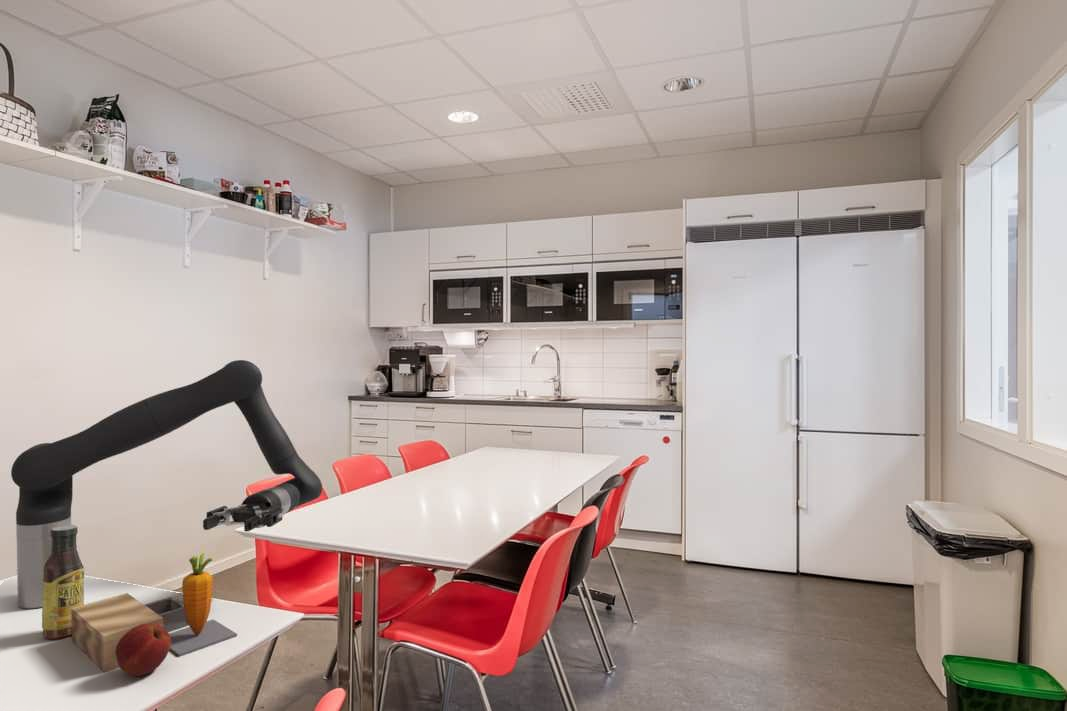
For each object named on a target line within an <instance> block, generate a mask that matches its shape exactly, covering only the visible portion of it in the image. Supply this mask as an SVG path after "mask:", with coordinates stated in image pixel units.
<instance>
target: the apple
mask: <svg viewBox="0 0 1067 711" xmlns="http://www.w3.org/2000/svg"><path fill="white" fill-rule="evenodd" d="M169 634H170V633H169V632H167V631H166V629H164V628H163V627H161V626H160V625H157V624H152V623H144V624H141V625H138V626H136V627H134V628H133V629H131V630H130V631H128V632H127V633H126V634H125V635H124V636H123V637H122V638H121V639H120V641H119V642H118V644H117V646H116V652H115V654H116V659H117V662H118V665H119V668H120V670H121V671H122V672H123V673H125V674H127V675H129V676H135V677H136V676H137V677H139V676H144V675H149V673H152V672H154V671H155V670H157V668H158V667H160V666H161V664H162V663H163V662H164V660H166V657H167V656H168V654H169V652H170V645H171V637H170V635H169Z"/></svg>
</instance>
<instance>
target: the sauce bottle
mask: <svg viewBox="0 0 1067 711" xmlns="http://www.w3.org/2000/svg"><path fill="white" fill-rule="evenodd" d="M78 532H79V531H78V526H77V525H75V524H71V525H67V526H60V527H55V528H52V529H51V537H52V549H51V552H52V554H51V556H50V557H49V559H48V560H47V561H46V563H45V566H44V579H43V602H42V607H41V608H42V610H41V611H42V613H41V628H42V636H43V638H44V639H48V640H56V639H62V638H66V637H71V636H72V621H71V608H73V607H77V606H81V605H85V604H84V602H85V601H84V600H85V598H84V596H85V595H84V594H85V587H84V586H85V581H84V580H85V568H84V565H83V563H82V561H81V558H80V555H79V552H78V550H77V534H78Z"/></svg>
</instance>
